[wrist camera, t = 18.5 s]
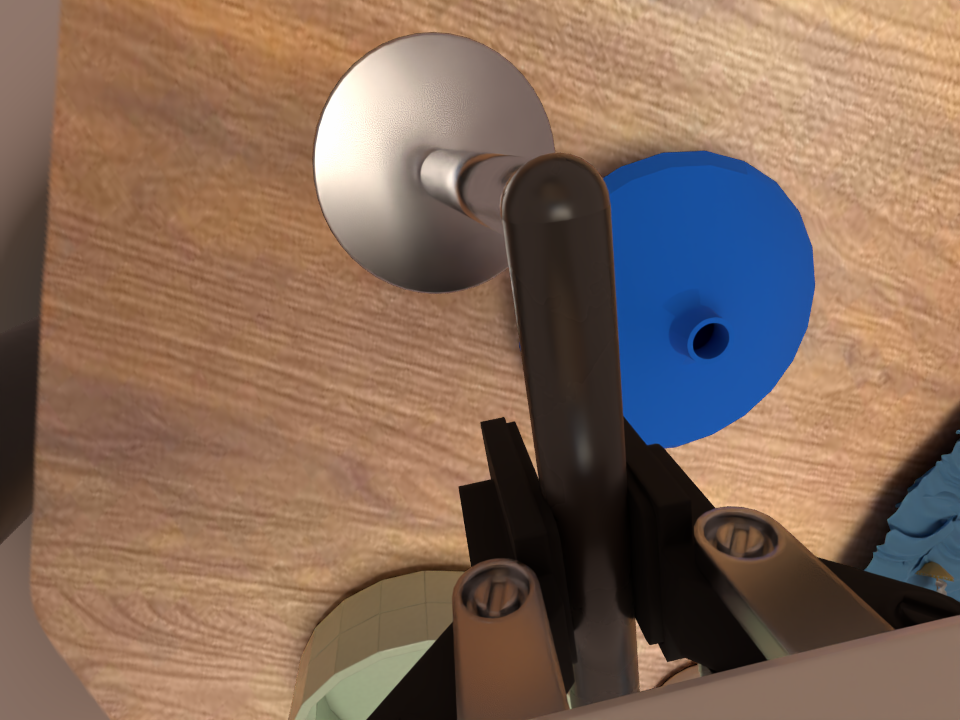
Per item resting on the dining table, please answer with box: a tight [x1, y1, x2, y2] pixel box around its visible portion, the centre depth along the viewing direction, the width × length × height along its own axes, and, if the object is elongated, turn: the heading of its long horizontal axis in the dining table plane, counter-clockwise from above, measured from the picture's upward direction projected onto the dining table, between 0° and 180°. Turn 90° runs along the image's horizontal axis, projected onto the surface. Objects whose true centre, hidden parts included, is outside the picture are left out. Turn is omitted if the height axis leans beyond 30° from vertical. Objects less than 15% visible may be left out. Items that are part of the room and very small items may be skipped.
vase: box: [519, 151, 815, 448], centre depth 28 cm, size 16×16×7 cm
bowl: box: [288, 571, 571, 720], centre depth 36 cm, size 17×17×6 cm
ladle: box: [312, 32, 640, 709], centre depth 13 cm, size 16×6×11 cm, turn 10°
